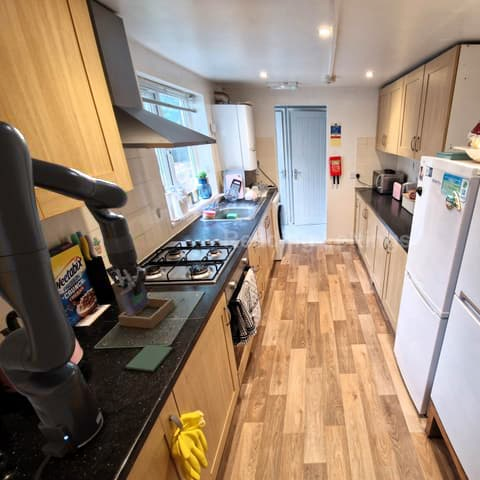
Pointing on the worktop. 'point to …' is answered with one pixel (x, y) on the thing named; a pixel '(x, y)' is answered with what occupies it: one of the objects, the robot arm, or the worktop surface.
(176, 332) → the worktop surface
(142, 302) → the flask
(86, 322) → the worktop surface
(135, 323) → the brown wooden tray
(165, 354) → the mat
